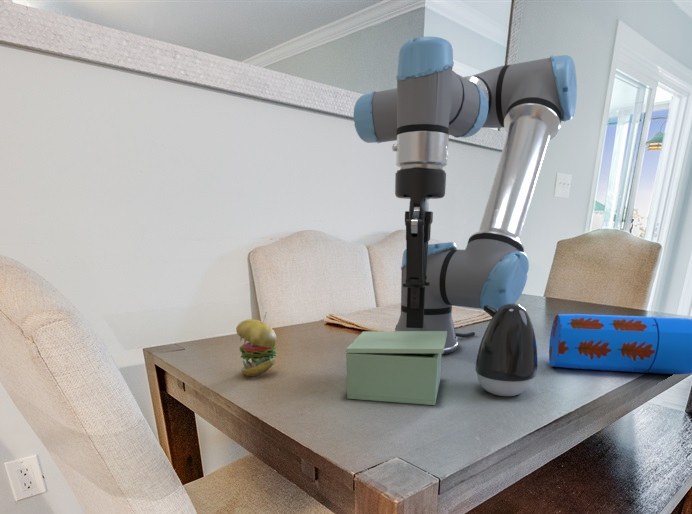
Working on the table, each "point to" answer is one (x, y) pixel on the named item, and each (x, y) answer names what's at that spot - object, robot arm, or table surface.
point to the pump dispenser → (507, 352)
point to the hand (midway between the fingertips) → (414, 326)
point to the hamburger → (257, 346)
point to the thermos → (621, 343)
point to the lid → (399, 342)
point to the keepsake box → (394, 377)
